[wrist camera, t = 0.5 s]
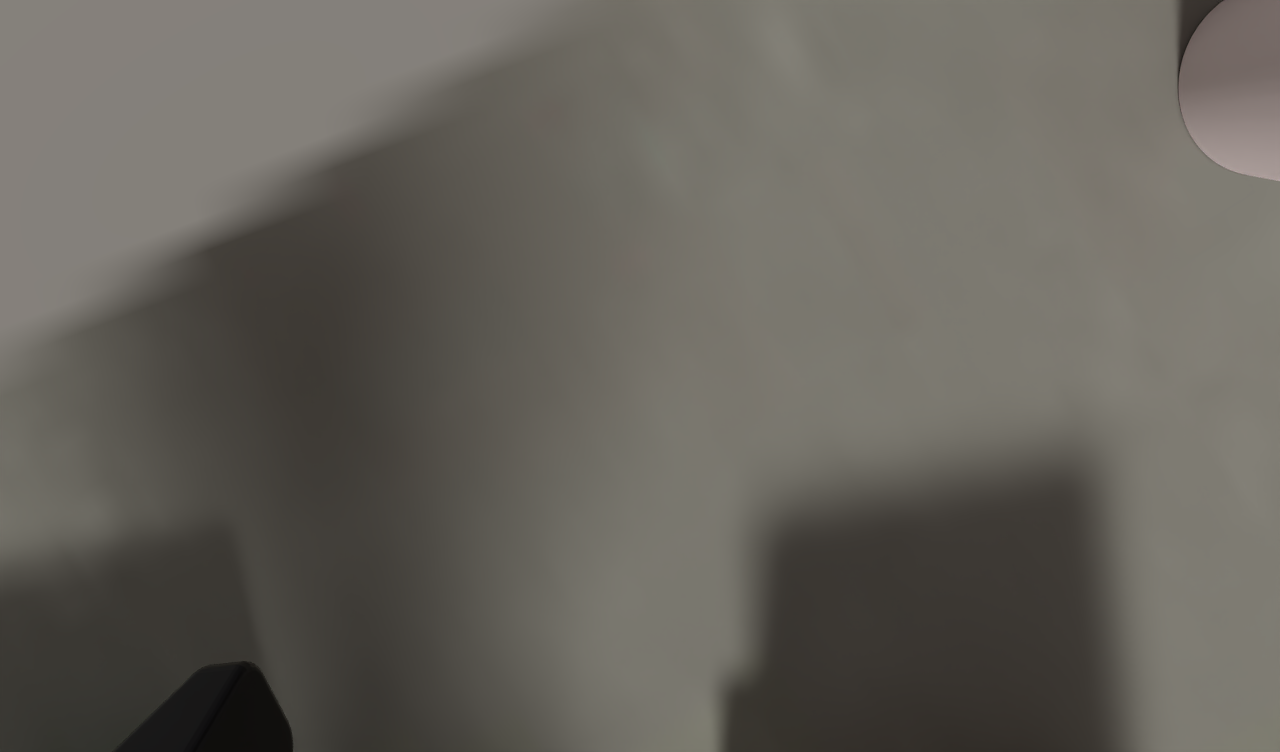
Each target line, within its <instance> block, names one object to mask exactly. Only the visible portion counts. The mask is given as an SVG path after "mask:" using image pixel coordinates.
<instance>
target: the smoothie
mask: <svg viewBox="0 0 1280 752" xmlns="http://www.w3.org/2000/svg"><path fill="white" fill-rule="evenodd" d="M1178 89H1179V103H1180V108H1181V113H1182V116H1183V119H1184V122H1185V125H1186V127H1187V129H1188V131H1189V133H1190V135H1191V137H1192V138H1193V140H1194V141H1195V143H1196V144H1197V145H1198V147H1199V148H1200V149H1201V150H1202V151H1203V152H1204V153H1205V154H1206V155H1207V156H1208V157H1209V158H1210V159H1212V160H1213V161H1214V162H1216V163H1217V164H1219V165H1221V166H1222V167H1224V168H1226V169H1229V170H1231V171H1234V172H1237V173H1240V174H1245V175H1250V176H1255V177H1260V178H1266V179H1271V180H1277V181H1280V0H1223V1H1222V2H1221V3H1220V4H1218V5H1217V6H1216V7H1215V8H1214V9H1213V10H1212V11H1211V12H1210V13H1209V14H1208V15H1207V16H1206V17H1205V18H1204V19H1203V21H1202V22H1201V23H1200V24H1199V26H1198V27H1197V29H1196V30H1195V32H1194V34H1193V35H1192V37H1191V39H1190V41H1189V43H1188V45H1187V48H1186V50H1185V53H1184V56H1183V59H1182V63H1181V68H1180V74H1179V85H1178Z"/></svg>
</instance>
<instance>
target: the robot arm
mask: <svg viewBox="0 0 1280 752" xmlns="http://www.w3.org/2000/svg"><path fill="white" fill-rule="evenodd" d="M113 752H293V737H292V732H291V728H290V725H289V722H288V720H287V718H286V717H285V715H284V713H283V711H282V709H281V707H280V705H279V703H278V701H277V699H276V697H275V696H274V694H273V692H272V690H271V688H270V686H269V684H268V682H267V680H266V678H265V676H264V675H263V673H262V671H261V670H260V668H259V667H258V666H256V665H255V664H253V663H252V662H247V661H242V662H233V663H223V664H214V665H208V666H205V667H202V668H201V669H199V670H198V671H196V672H195V673H194V674H193V675H192V676H191V677H190V678H189V679H187V680H186V681H185V682H184V683H183V684H182V685H181V686H180V687H179V688H178V689H177V690H176V691H175V692H174V693H173V694H172V695H171V696H170V697H169V698H168V699H167V700H166V701H165V702H164V703H163V704H161V705H160V706H159V707H158V708H157V709H156V710H155V711H154V712H153V713H152V714H151V715H150V716H149V717H148V718H147V719H146V720H145V721H144V722H143V723H142V724H141V725H140V726H139V727H138V728H137V729H135V730H134V731H133V732H132V733H131V734H130V735H129V736H128V737H127V738H126V739H125V740H124V741H123V742H122V743H121V744H120V745H119V746H118V747H117V748H116V749H115V750H114V751H113Z"/></svg>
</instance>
